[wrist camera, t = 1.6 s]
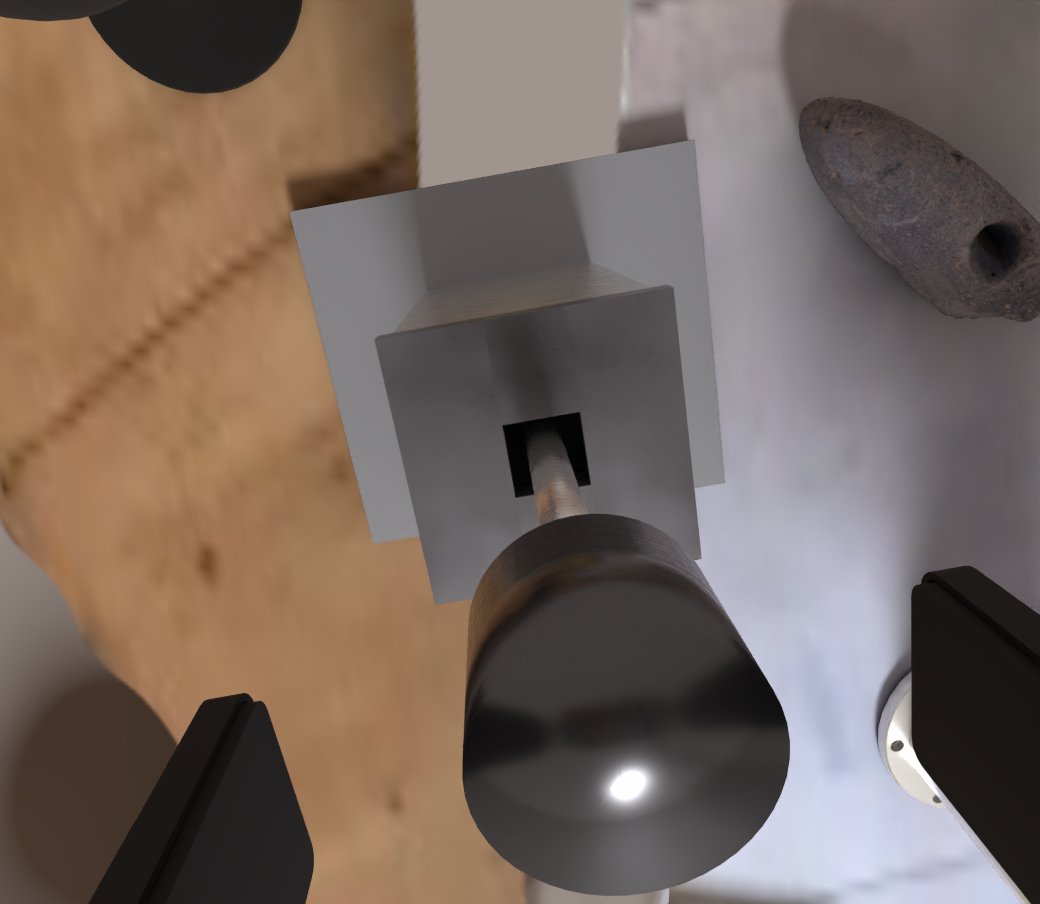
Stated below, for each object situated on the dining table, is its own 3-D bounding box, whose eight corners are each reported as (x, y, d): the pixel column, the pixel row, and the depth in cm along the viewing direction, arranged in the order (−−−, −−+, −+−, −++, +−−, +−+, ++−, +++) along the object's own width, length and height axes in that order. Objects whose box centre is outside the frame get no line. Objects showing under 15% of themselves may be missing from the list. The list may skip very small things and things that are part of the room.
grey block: (593, 256, 37) (673, 287, 21) (622, 471, 41) (709, 635, 25) (421, 286, 38) (374, 339, 22) (465, 499, 41) (452, 679, 25)
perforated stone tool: (749, 153, 38) (806, 140, 31) (824, 64, 36) (899, 30, 30) (941, 339, 41) (1029, 363, 34) (1014, 263, 40) (1120, 272, 33)
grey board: (688, 141, 37) (694, 139, 36) (718, 475, 43) (725, 482, 42) (295, 211, 37) (289, 211, 36) (376, 535, 43) (373, 543, 42)
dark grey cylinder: (583, 341, 28) (779, 596, 9) (599, 451, 29) (798, 867, 11) (468, 361, 28) (431, 656, 9) (489, 470, 29) (494, 919, 11)
